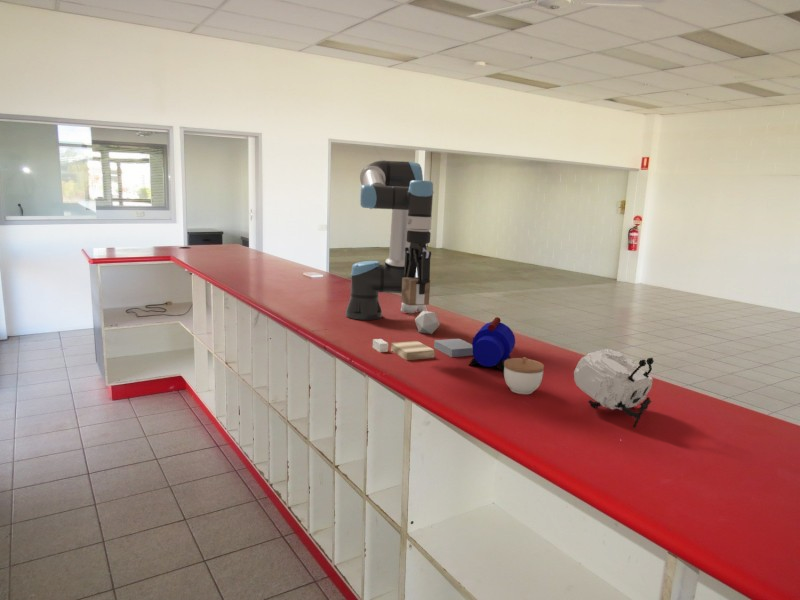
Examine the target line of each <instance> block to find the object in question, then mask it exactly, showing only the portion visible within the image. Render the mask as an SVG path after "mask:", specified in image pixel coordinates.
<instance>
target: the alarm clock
mask: <svg viewBox="0 0 800 600" xmlns="http://www.w3.org/2000/svg"><path fill="white" fill-rule="evenodd" d="M501 321H502V319H501V318H500V317H497V316H496V317H495V318H494V319H493V320H492V321H490V322H488V323H485V324H484V325H483V326H481V328H480V329H479V330H478V331H477V332H476V333H475V335H474V337H473V338H472V343H471V344H472V347H473V355H472V356H473V358H472V360H471V361H470V363H468V365H467V366H474V365H477V364H479V365H481V366H483V367H489V368H491V367H494V366H495V367H497V369H499V370H501V371H503V372H504V361H505V360H507V359H511V358H512V357H511V355H510V354H511V353H512V352H513V350H514V348H515V346H516V337H515V334H514V332H513V330H512V329H511V328H510V327H509V326H508V325H506V324H504V323H502V322H501Z"/></svg>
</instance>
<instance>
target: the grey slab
mask: <svg viewBox="0 0 800 600" xmlns="http://www.w3.org/2000/svg"><path fill="white" fill-rule="evenodd" d="M433 349H435V350H438V351H439V352H441V353H443V354H445V355H446V356H449V357H451V358H455V357H457V358H458V357H468V356H473V347H472V343H470V342H468V341H466V340H464V339H461V338H450V339H449V338H448V339H435V340H434V342H433Z"/></svg>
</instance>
